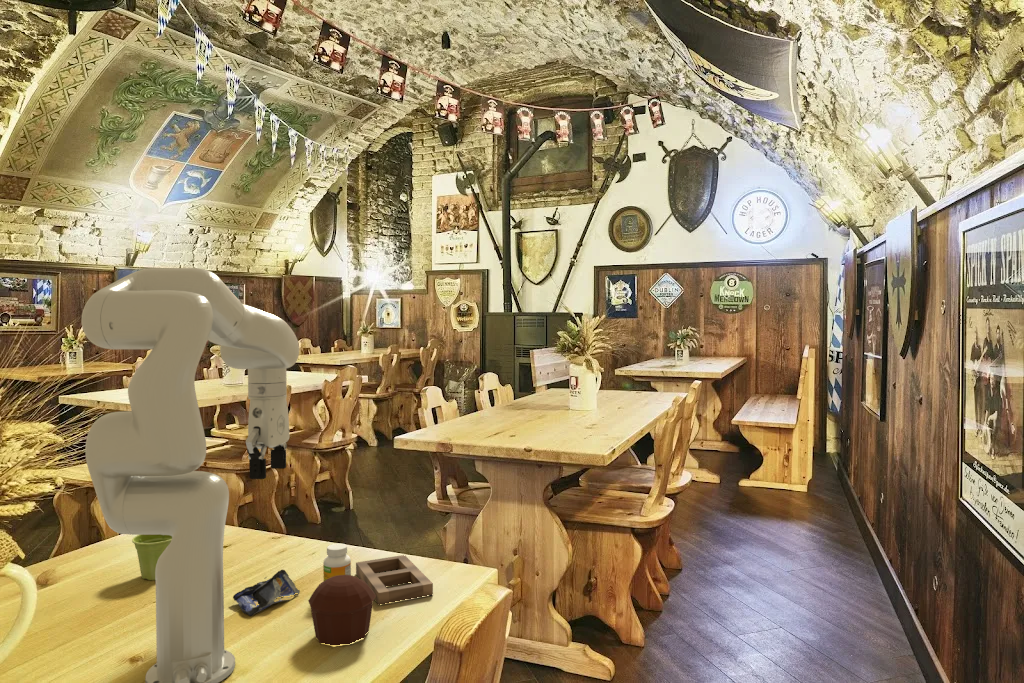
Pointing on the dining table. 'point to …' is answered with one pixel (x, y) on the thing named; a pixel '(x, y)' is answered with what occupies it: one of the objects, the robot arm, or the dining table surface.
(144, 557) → the plant pot
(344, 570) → the supplement bottle
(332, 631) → the muffin
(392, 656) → the dining table surface
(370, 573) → the bottle rack
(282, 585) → the snack package
